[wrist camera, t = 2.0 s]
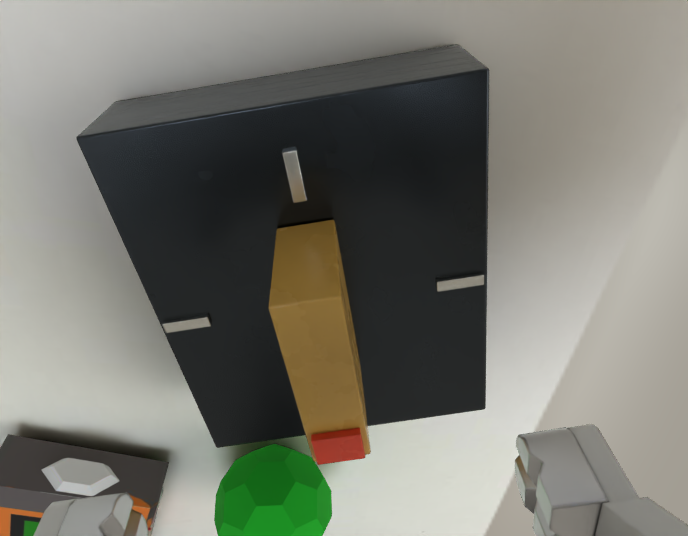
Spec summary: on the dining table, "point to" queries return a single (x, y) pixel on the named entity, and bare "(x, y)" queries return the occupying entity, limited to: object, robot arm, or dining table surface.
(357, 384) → the tap handle
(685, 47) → the dining table surface
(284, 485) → the polyhedron
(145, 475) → the electronic device
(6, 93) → the dining table surface
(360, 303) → the block
